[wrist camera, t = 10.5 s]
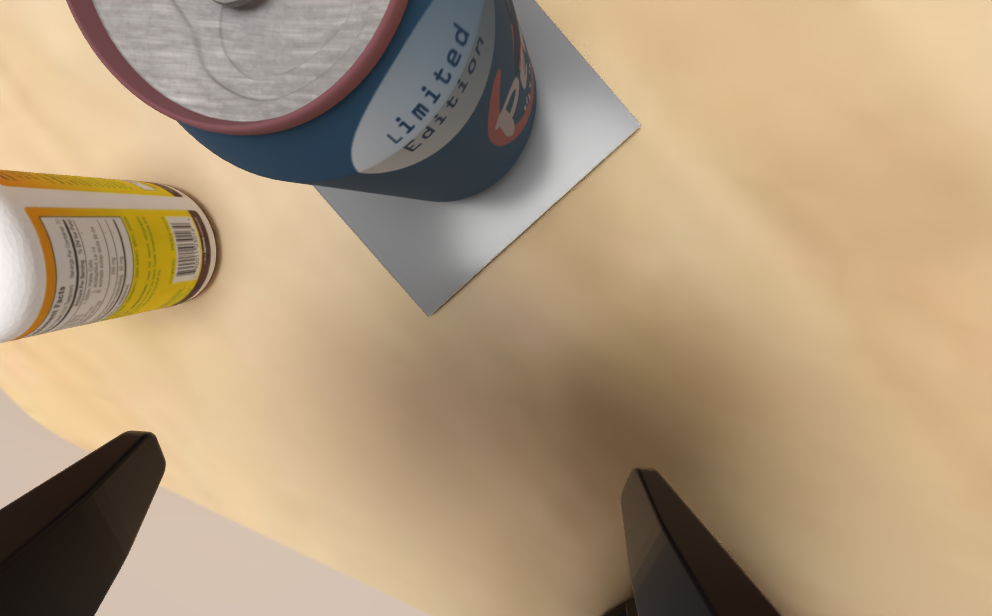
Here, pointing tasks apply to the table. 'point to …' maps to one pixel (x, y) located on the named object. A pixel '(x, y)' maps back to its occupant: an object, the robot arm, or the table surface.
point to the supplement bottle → (95, 250)
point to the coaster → (514, 197)
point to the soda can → (332, 86)
